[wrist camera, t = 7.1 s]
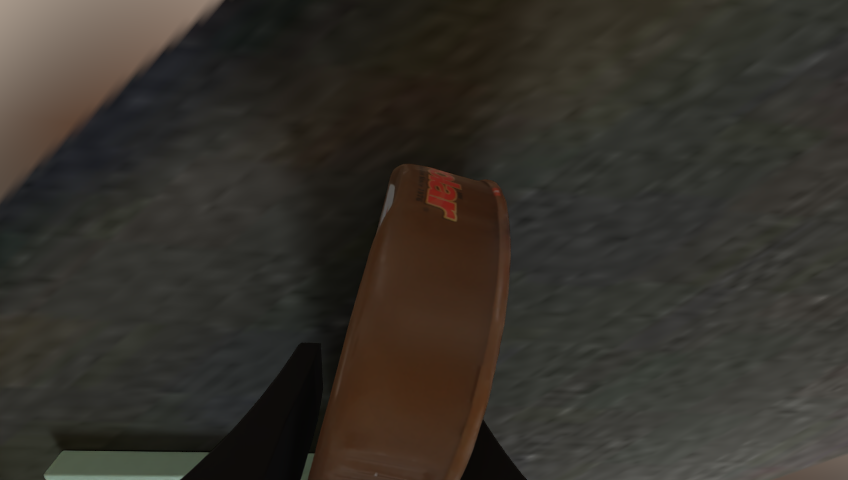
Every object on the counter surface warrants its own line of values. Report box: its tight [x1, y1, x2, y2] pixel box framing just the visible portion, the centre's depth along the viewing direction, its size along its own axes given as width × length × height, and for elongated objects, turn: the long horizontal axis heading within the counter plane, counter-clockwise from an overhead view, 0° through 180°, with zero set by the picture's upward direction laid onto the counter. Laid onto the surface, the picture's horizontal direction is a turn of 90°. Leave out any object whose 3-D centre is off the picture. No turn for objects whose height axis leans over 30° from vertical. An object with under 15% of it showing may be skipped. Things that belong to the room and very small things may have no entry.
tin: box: [308, 164, 511, 480], centre depth 12 cm, size 15×3×8 cm, turn 164°
